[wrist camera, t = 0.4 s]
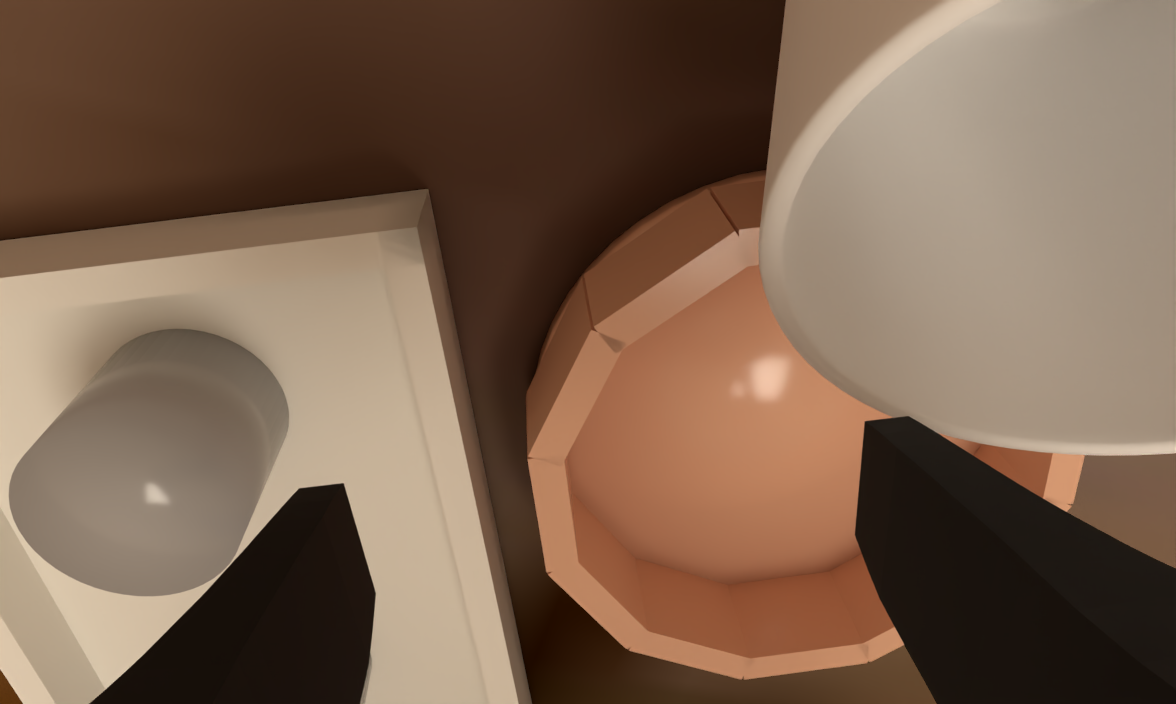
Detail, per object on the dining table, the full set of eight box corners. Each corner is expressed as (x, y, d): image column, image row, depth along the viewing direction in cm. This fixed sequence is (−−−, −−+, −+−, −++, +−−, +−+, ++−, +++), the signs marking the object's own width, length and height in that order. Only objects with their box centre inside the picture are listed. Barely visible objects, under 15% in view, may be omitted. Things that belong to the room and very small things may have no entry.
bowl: (977, 551, 26) (1040, 640, 22) (562, 605, 25) (568, 703, 22) (1050, 134, 19) (1151, 179, 16) (497, 201, 19) (493, 260, 16)
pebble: (309, 469, 21) (268, 582, 18) (138, 491, 21) (63, 608, 18) (259, 317, 19) (201, 411, 16) (68, 341, 19) (-33, 440, 15)
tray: (533, 708, 27) (534, 778, 25) (143, 760, 27) (110, 836, 25) (428, 188, 19) (416, 227, 16) (-149, 258, 18) (-239, 306, 16)
